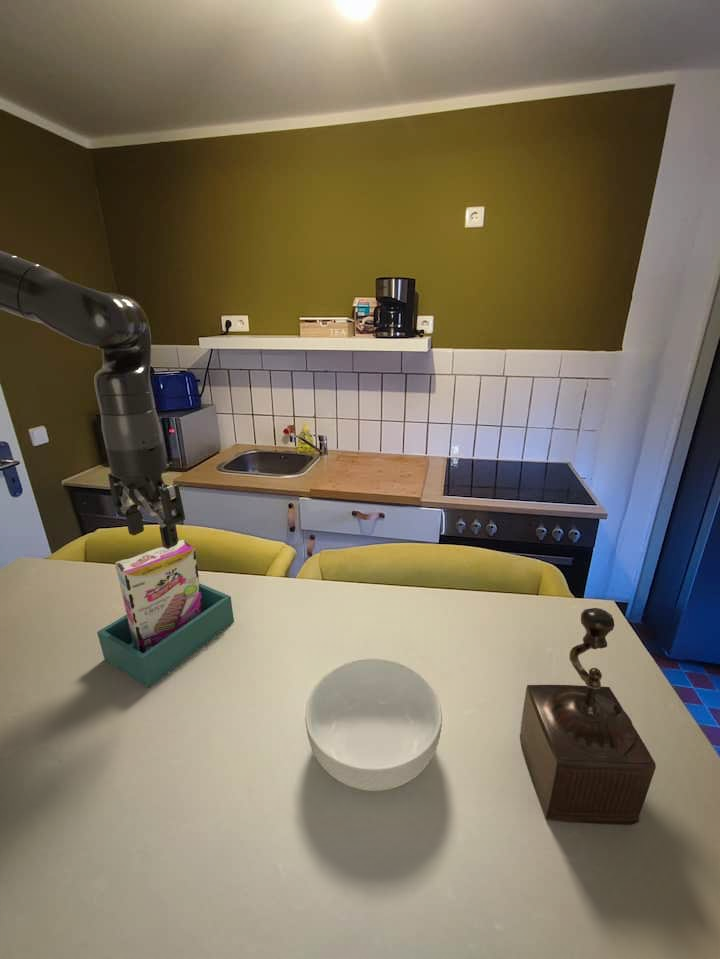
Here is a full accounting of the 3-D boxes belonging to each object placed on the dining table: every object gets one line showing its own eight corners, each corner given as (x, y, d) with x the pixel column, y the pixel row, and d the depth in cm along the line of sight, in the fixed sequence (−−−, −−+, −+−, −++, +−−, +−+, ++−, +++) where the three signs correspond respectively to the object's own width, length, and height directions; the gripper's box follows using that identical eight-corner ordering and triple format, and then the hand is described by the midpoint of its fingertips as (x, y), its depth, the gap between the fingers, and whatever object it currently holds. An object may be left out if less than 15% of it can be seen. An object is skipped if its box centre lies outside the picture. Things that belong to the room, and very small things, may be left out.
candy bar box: (143, 661, 69) (123, 574, 64) (132, 645, 73) (112, 561, 67) (208, 628, 77) (195, 547, 71) (195, 615, 80) (182, 537, 74)
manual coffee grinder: (647, 826, 47) (690, 702, 40) (544, 822, 47) (571, 698, 41) (584, 706, 61) (609, 601, 55) (506, 703, 62) (521, 599, 55)
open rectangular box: (104, 659, 71) (96, 631, 69) (192, 602, 85) (187, 578, 83) (148, 687, 65) (141, 658, 63) (234, 621, 79) (230, 596, 77)
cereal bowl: (417, 686, 65) (419, 649, 62) (459, 799, 49) (464, 756, 47) (304, 703, 62) (301, 664, 60) (312, 828, 47) (309, 784, 44)
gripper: (81, 440, 63) (104, 538, 68) (141, 454, 56) (161, 562, 62) (129, 430, 69) (147, 520, 74) (188, 441, 62) (203, 540, 68)
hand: (153, 539), depth 68 cm, fingers open, 8 cm apart
